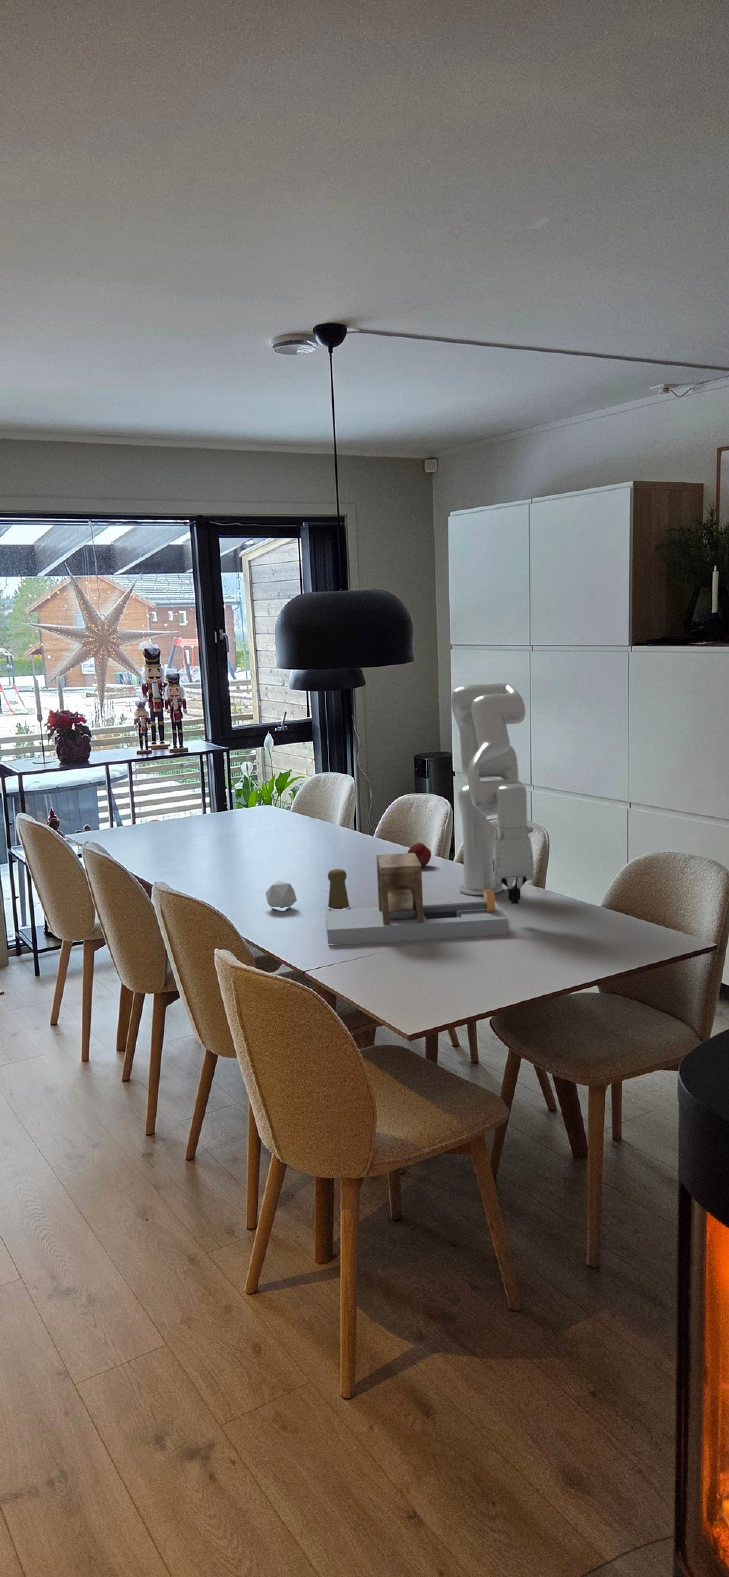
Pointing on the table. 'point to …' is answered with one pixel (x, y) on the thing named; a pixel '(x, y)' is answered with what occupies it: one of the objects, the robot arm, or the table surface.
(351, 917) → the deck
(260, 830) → the table surface
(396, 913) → the sled
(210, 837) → the table surface
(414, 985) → the table surface
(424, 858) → the apple
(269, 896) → the die
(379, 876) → the tunnel
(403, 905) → the block
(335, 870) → the tan pawn
